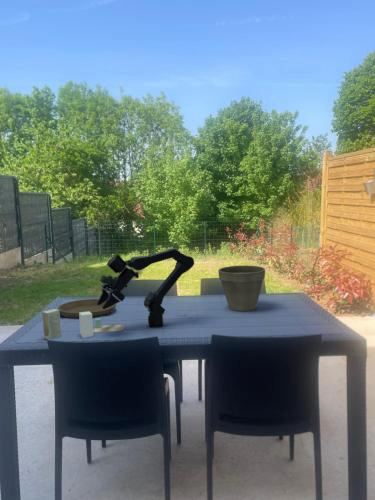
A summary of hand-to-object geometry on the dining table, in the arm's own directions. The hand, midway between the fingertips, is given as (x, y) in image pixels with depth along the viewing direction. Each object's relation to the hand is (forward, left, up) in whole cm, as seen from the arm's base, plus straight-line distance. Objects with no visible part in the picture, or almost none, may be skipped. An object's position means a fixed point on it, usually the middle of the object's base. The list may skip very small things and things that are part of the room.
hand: (100, 306), depth 191 cm
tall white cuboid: (+6, +3, -13) cm, 14 cm away
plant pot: (-69, -39, -13) cm, 80 cm away
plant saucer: (+15, -41, -13) cm, 46 cm away
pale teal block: (+3, -9, -12) cm, 15 cm away
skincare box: (+21, +3, -13) cm, 25 cm away
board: (-2, -7, -13) cm, 15 cm away
